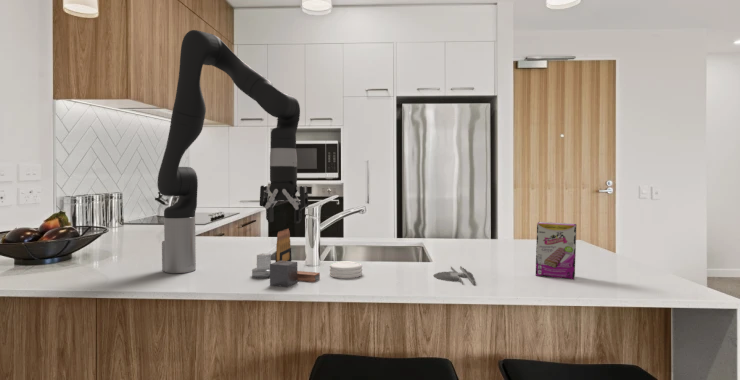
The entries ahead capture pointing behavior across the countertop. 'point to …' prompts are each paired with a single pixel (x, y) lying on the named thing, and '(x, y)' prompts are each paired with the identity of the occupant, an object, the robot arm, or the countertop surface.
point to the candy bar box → (556, 250)
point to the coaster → (345, 269)
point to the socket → (283, 273)
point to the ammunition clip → (283, 246)
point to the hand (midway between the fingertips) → (283, 222)
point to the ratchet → (264, 270)
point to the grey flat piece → (455, 276)
